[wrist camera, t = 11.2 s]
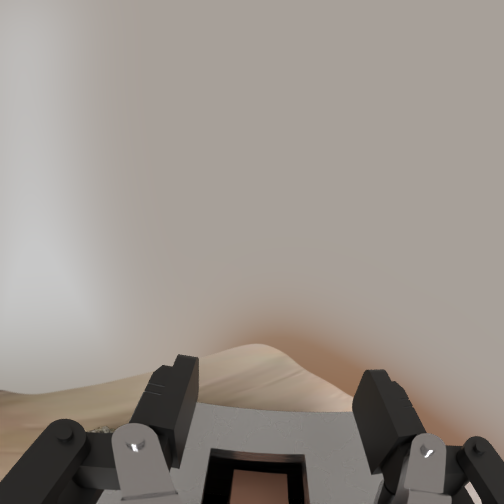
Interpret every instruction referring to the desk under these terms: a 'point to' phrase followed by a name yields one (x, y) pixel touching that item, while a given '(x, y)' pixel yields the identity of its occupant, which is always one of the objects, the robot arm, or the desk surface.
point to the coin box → (273, 455)
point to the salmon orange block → (258, 488)
